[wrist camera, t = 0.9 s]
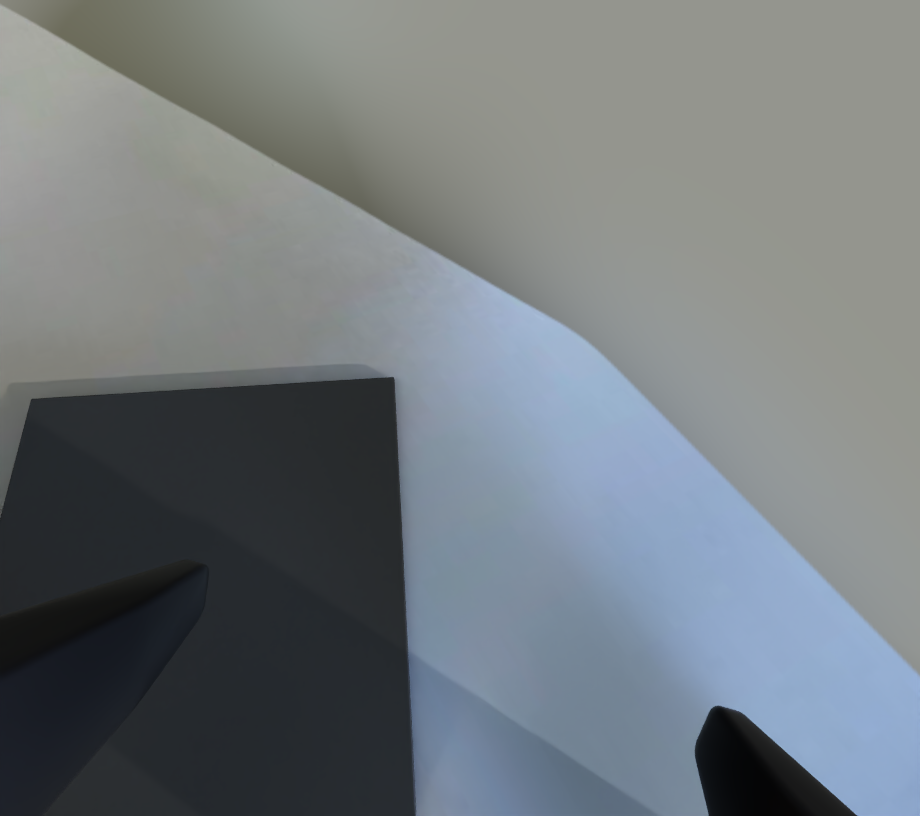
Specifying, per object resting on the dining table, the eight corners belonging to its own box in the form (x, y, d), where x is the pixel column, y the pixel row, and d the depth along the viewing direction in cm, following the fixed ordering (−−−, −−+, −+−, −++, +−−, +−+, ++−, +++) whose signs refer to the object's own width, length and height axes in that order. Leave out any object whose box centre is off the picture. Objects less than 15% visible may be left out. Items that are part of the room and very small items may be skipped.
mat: (416, 812, 19) (416, 818, 19) (-85, 888, 17) (-100, 896, 17) (394, 380, 26) (393, 376, 26) (38, 402, 24) (30, 398, 24)
